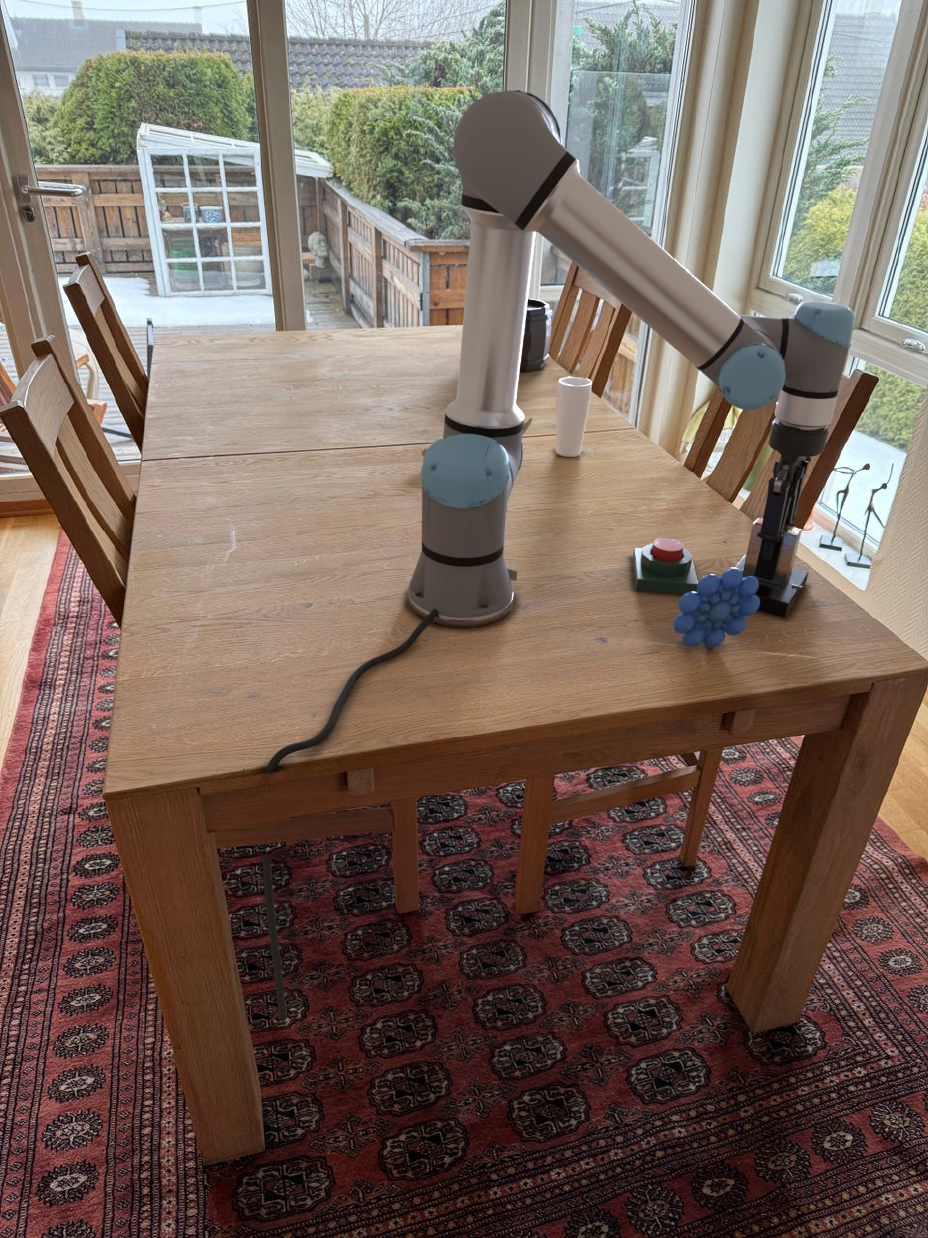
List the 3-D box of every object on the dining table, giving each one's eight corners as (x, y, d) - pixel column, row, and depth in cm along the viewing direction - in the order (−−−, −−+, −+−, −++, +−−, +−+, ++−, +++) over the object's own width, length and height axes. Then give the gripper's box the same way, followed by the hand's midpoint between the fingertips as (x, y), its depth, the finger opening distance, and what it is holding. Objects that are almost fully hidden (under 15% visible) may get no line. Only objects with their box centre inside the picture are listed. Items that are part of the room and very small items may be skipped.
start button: (682, 563, 139) (685, 552, 138) (652, 561, 139) (654, 549, 138) (680, 550, 143) (682, 539, 142) (650, 548, 143) (652, 536, 142)
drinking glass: (546, 455, 187) (552, 382, 180) (559, 445, 192) (565, 374, 185) (577, 461, 185) (584, 388, 177) (589, 451, 190) (597, 380, 182)
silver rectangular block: (789, 580, 137) (802, 527, 133) (784, 587, 136) (797, 533, 131) (747, 568, 140) (758, 516, 136) (741, 575, 138) (753, 522, 134)
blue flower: (737, 628, 130) (753, 552, 124) (757, 654, 124) (775, 575, 118) (658, 632, 128) (671, 555, 122) (675, 658, 122) (689, 579, 116)
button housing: (695, 595, 138) (700, 572, 136) (635, 590, 138) (639, 567, 136) (688, 562, 147) (692, 540, 145) (632, 558, 148) (635, 535, 146)
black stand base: (787, 619, 132) (791, 603, 131) (715, 598, 137) (718, 582, 136) (807, 586, 141) (811, 571, 140) (739, 568, 146) (742, 553, 145)
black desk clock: (472, 356, 252) (474, 297, 244) (533, 353, 257) (537, 295, 249) (493, 374, 237) (496, 311, 229) (557, 370, 242) (562, 309, 234)
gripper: (789, 402, 133) (758, 547, 145) (757, 431, 121) (725, 586, 133) (842, 412, 130) (805, 560, 142) (814, 442, 118) (777, 601, 130)
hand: (767, 572), depth 137 cm, fingers open, 3 cm apart
